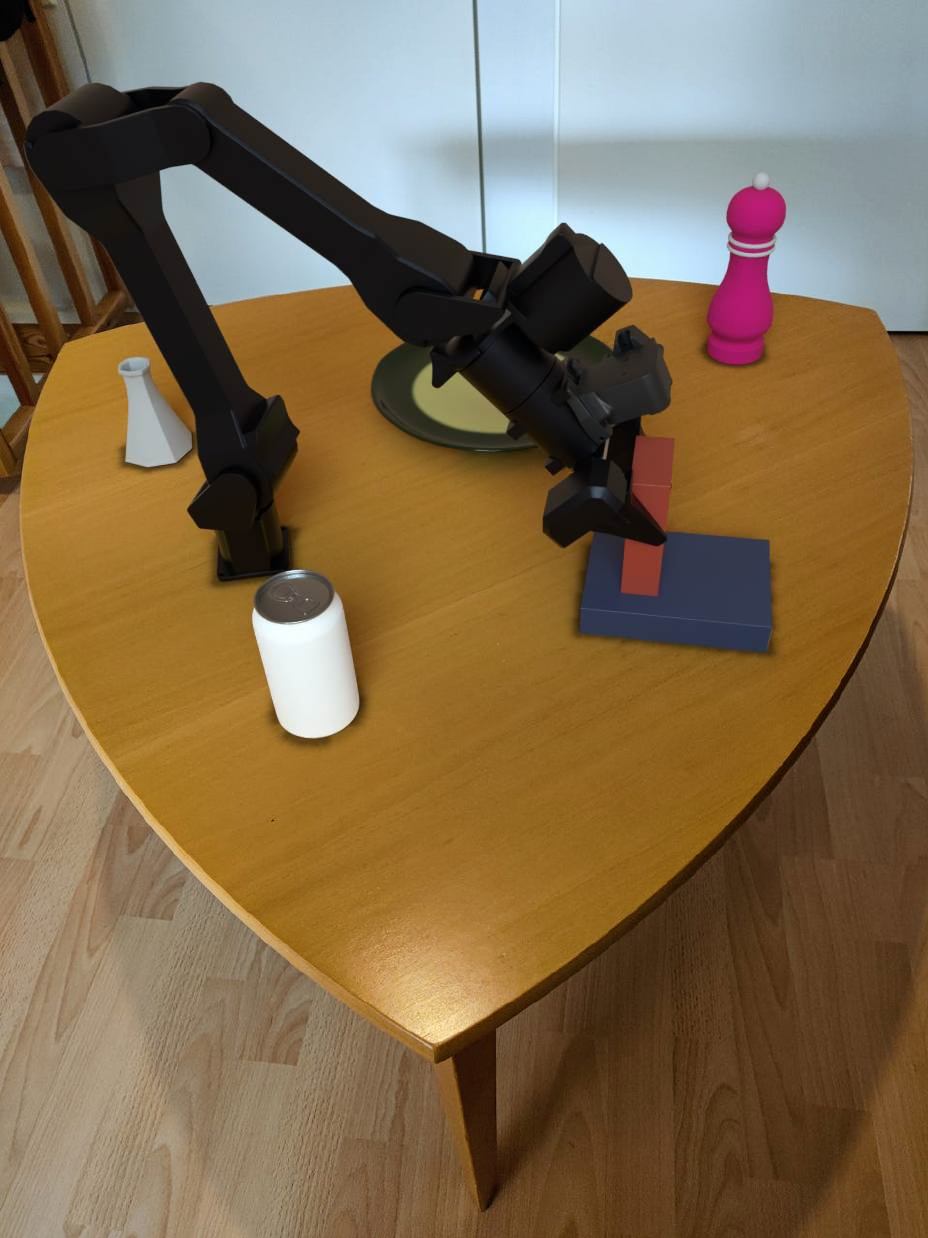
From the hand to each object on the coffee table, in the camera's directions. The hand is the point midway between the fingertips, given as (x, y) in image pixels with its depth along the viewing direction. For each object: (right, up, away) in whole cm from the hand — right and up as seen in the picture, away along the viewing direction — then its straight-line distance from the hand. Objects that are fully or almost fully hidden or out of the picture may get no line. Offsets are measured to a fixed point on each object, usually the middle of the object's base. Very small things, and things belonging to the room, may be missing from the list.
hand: (665, 515), depth 79 cm
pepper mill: (+15, +22, +35) cm, 45 cm away
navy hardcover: (+2, -7, +6) cm, 9 cm away
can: (-27, -15, -2) cm, 31 cm away
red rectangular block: (-1, -4, +4) cm, 6 cm away
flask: (-48, +9, +26) cm, 56 cm away
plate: (-12, +16, +31) cm, 37 cm away
